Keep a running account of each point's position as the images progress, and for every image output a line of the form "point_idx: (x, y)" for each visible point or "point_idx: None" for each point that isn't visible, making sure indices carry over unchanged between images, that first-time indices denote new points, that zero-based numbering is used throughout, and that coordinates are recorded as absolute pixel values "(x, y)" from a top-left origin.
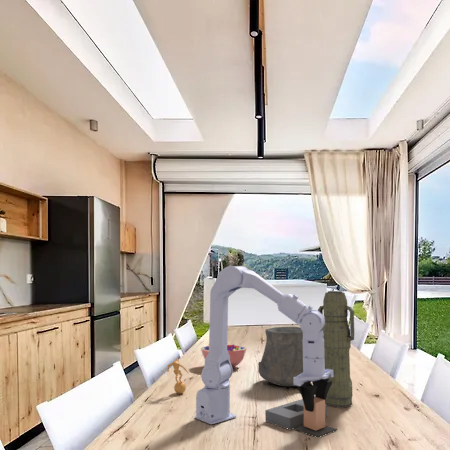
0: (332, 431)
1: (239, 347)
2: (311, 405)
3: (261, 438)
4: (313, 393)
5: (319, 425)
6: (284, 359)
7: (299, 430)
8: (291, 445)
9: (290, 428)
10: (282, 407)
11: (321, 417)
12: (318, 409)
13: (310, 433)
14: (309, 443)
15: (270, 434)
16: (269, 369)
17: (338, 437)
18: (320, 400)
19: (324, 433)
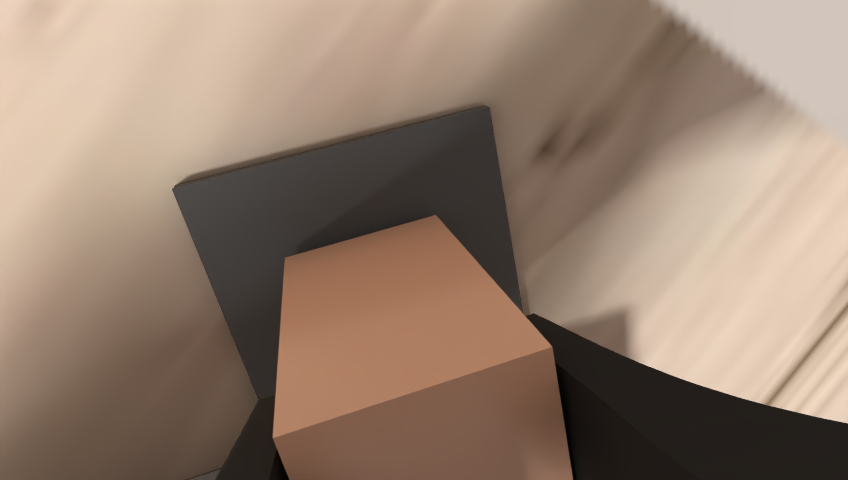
0: (255, 167)
1: None
2: (593, 344)
3: (813, 294)
4: (751, 445)
5: (384, 241)
6: None
7: (519, 307)
8: (764, 82)
9: None
10: None
11: (357, 281)
12: (439, 314)
13: (499, 200)
14: (628, 40)
15: (721, 334)
16: None
17: (287, 17)
18: (380, 432)
19: (382, 142)
